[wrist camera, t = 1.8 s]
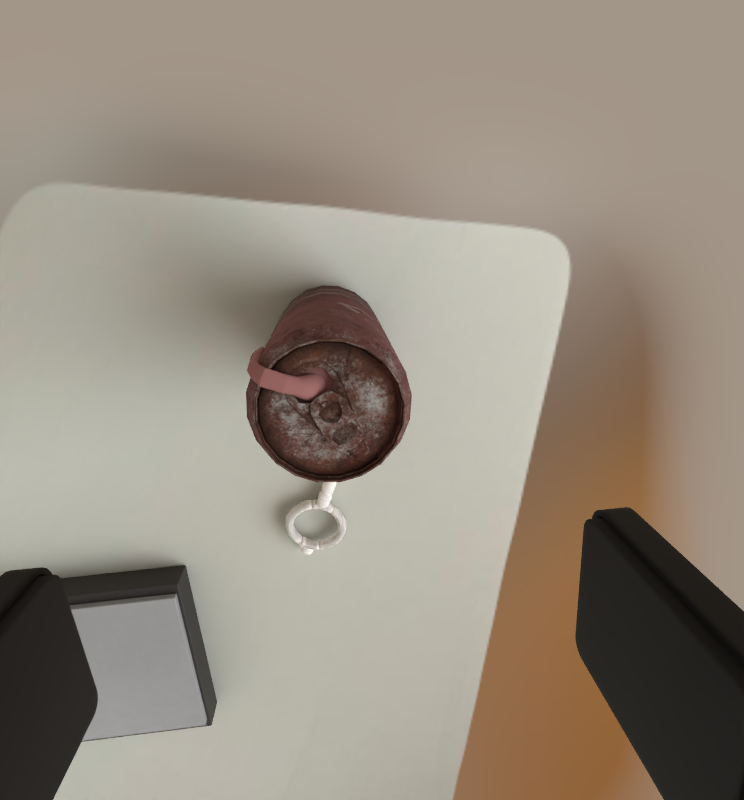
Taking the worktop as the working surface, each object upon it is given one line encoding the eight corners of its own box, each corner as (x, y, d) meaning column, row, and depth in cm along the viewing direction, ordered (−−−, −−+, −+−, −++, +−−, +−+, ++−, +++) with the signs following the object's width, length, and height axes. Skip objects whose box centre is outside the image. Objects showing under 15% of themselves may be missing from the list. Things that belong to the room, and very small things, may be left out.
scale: (21, 726, 39) (1, 758, 36) (-36, 588, 34) (-63, 615, 32) (217, 702, 40) (210, 732, 37) (185, 564, 35) (175, 589, 33)
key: (277, 541, 35) (335, 555, 36) (276, 549, 34) (335, 564, 35) (328, 385, 32) (390, 404, 32) (328, 389, 31) (392, 409, 32)
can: (294, 267, 29) (265, 299, 16) (393, 306, 31) (442, 366, 17) (262, 361, 31) (212, 461, 18) (357, 395, 32) (377, 511, 19)
